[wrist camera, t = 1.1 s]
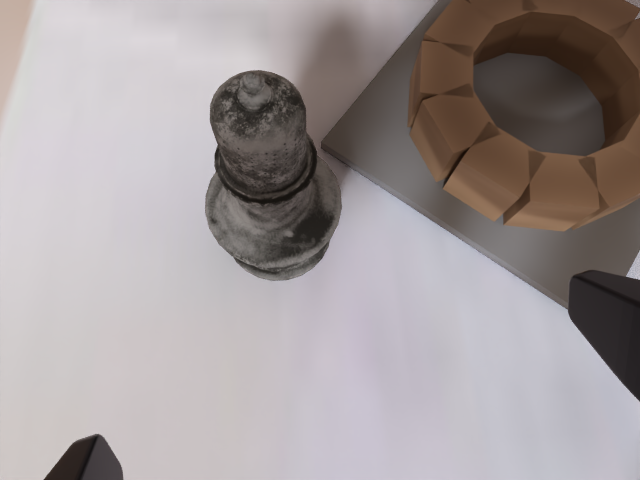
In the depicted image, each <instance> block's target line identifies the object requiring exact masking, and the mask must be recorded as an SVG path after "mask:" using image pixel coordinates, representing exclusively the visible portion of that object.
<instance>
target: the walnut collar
mask: <svg viewBox="0 0 640 480" xmlns="http://www.w3.org/2000/svg"><path fill="white" fill-rule="evenodd" d="M639 11H640V8H638V7H636V6H634V5H632V4H630V3H628V2H626V1H625V0H439V1H438V2H437V3H436V5H435V6H434V7H433V8H432V9H431V11H430V12H429V13H428V14H427V15H426V17H425V18H424V19H423V20H422V21H421V23H420V24H419V25H418V26H417V28H416V29H415V30H414V31H413V32H412V34H411V35H410V36H409V37H408V38H407V40H406V41H405V42H404V43H403V44H402V46H401V47H400V48H399V49H398V50H397V52H396V53H395V54H394V55H393V56H392V58H391V59H390V60H389V61H388V62H387V64H386V65H385V66H384V67H383V68H382V70H381V71H380V72H379V73H378V74H377V76H376V77H375V78H374V79H373V80H372V82H371V83H370V84H369V85H368V86H367V88H366V89H365V90H364V91H363V92H362V94H361V95H360V96H359V97H358V99H357V100H356V101H355V102H354V103H353V105H352V106H351V107H350V108H349V109H348V111H347V112H346V113H345V114H344V115H343V117H342V118H341V119H340V120H339V121H338V123H337V124H336V125H335V126H334V127H333V129H332V130H331V131H330V132H329V133H328V135H327V136H326V137H325V138H324V139H323V141H322V142H321V148H322V149H324V150H325V151H327V152H328V153H330V154H331V155H333V156H334V157H336V158H337V159H339V160H341V161H342V162H344V163H345V164H347V165H348V166H350V167H351V168H353V169H354V170H356V171H357V172H359V173H360V174H362V175H363V176H365V177H366V178H368V179H369V180H371V181H373V182H374V183H376V184H377V185H379V186H380V187H382V188H383V189H385V190H386V191H388V192H389V193H391V194H392V195H394V196H395V197H397V198H398V199H400V200H401V201H403V202H405V203H406V204H408V205H409V206H411V207H412V208H414V209H415V210H417V211H418V212H420V213H421V214H423V215H424V216H426V217H427V218H429V219H430V220H432V221H433V222H435V223H437V224H438V225H440V226H441V227H443V228H444V229H446V230H447V231H449V232H450V233H452V234H453V235H455V236H456V237H458V238H459V239H461V240H462V241H464V242H465V243H467V244H469V245H470V246H472V247H473V248H475V249H476V250H478V251H479V252H481V253H482V254H484V255H485V256H487V257H488V258H490V259H491V260H493V261H494V262H496V263H497V264H499V265H501V266H502V267H504V268H505V269H507V270H508V271H510V272H511V273H513V274H514V275H516V276H517V277H519V278H520V279H522V280H523V281H525V282H526V283H528V284H529V285H531V286H533V287H534V288H536V289H537V290H539V291H540V292H542V293H543V294H545V295H546V296H548V297H549V298H551V299H552V300H554V301H555V302H557V303H558V304H560V305H561V306H563V307H565V308H566V309H568V293H569V280H570V278H571V277H572V276H573V275H575V274H578V273H581V272H584V271H587V270H598V271H602V272H607V273H611V274H616V275H620V276H624V277H626V275H627V273H628V271H629V269H630V267H631V266H632V264H633V262H634V260H635V258H636V256H637V254H638V252H639V250H640V18H639V19H636V20H634V19H635V18H636V16H637V14H638V13H639Z"/></svg>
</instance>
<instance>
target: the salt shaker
mask: <svg viewBox="0 0 640 480" xmlns="http://www.w3.org/2000/svg"><path fill="white" fill-rule="evenodd" d="M210 123H211V126H212V130H213V133H214V136H215V138H216V141H217V144H218V146H217V149H216V152H215V170H216V173H215V174H214V176H213V177H212V179H211V181H210V184H209V187H208V190H207V193H206V202H205V213H206V217H207V221H208V225H209V229H210V230H211V232H212V234H213V235H214V237H215V239H216V240H217V242H218V243H219V245H220V246H222V247H223V248H224V249H225V250H226V251H227V252H228V253H229V254H230V255H231V256H233V257H234V259H235V260H236V262H237V263H238V264H239V265H240V266H241V267H242V268H244V269H245V270H246V271H247V272H249V273H251V274H253V275H255V276H257V277H259V278H263V279H268V280H272V281H275V280H289V279H292V278H295V277H298V276H301V275H303V274H304V273H306V272H308V271H309V270H311V269H312V268H313V267H314V266H315V265H316V264H317V263H318V262H319V261H320V260H321V259H322V258H323V256H324V254H325V252H326V250H327V248H328V246H329V241H330V239H331V237H332V235H333V233H334V231H335V229H336V227H337V226H338V222H339V218H340V213H341V209H342V204H341V191H340V188H339V185H338V182H337V180H336V177H335V175H334V174H333V172H332V171H331V169H330V168H329V167H328V165H327V164H326V162H324V161H323V160H322V159H321V158H319V157H318V156H317V151H316V148H315V146H314V143H313V140H312V139H311V137H310V136H309V135H308V133H307V132H306V108H305V105H304V103H303V100H302V97H301V95H300V93H299V91H298V90H297V89H296V87H295V86H294V85H293V84H292V83H291V82H289V81H288V80H287V79H285V78H284V77H282V76H279V75H277V74H275V73H272V72H267V71H262V70H256V71H247V72H243V73H239V74H237V75H235V76H233V77H231V78H230V79H228V80H227V81H226V82H225V83H223V84H222V85H221V86H220V87H219V88H218V90H217V91H216V93H215V94H214V96H213V99H212V102H211V105H210Z"/></svg>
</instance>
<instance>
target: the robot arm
mask: <svg viewBox="0 0 640 480" xmlns="http://www.w3.org/2000/svg"><path fill="white" fill-rule="evenodd" d="M568 313H569V316H570V318H571V320H572V322H573V323H574V324H575V326H576V327H577V328H578V329H579V331H580V332H581V333H582V334H583V336H584V337H585V338H586V339H587V341H588V342H589V343H590V344H591V345H592V347H593V348H594V349H595V350H596V352H597V353H598V354H599V355H600V357H601V358H602V359H603V360H604V362H605V363H606V364H607V365H608V366H609V368H610V369H611V370H612V371H613V373H614V374H615V375H616V376H617V377H618V379H619V380H620V381H621V382H622V383H623V384H624V385H625V387H626V388H627V389H628V390H629V391H630V392H631V393H632V394H633V395H634V396H635V397H636V398H637V399H638V400H639V401H640V280H638V279H633V278H629V277H624V276H620V275H616V274H611V273H607V272H602V271H598V270H587V271H584V272H581V273H578V274H575V275H573V276H572V277H571V278H570V280H569V293H568ZM44 480H123V471H122V467H121V465H120V463H119V461H118V459H117V458H116V456H115V454H114V453H113V451H112V450H111V448H110V446H109V445H108V443H107V442H106V440H105V439H104V437H103V436H101V435H99V434H95V435H92V436H89V437H86V438H83V439H80V440H77V441H75V442H74V443H73V444H72V445H71V446H70V447H69V448H68V450H67V451H66V452H65V453H64V455H63V456H62V457H61V458H60V460H59V461H58V462H57V464H56V465H55V466H54V467H53V469H52V470H51V471H50V472H49V474H48V475H47V476H46V477H45V479H44Z"/></svg>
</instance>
